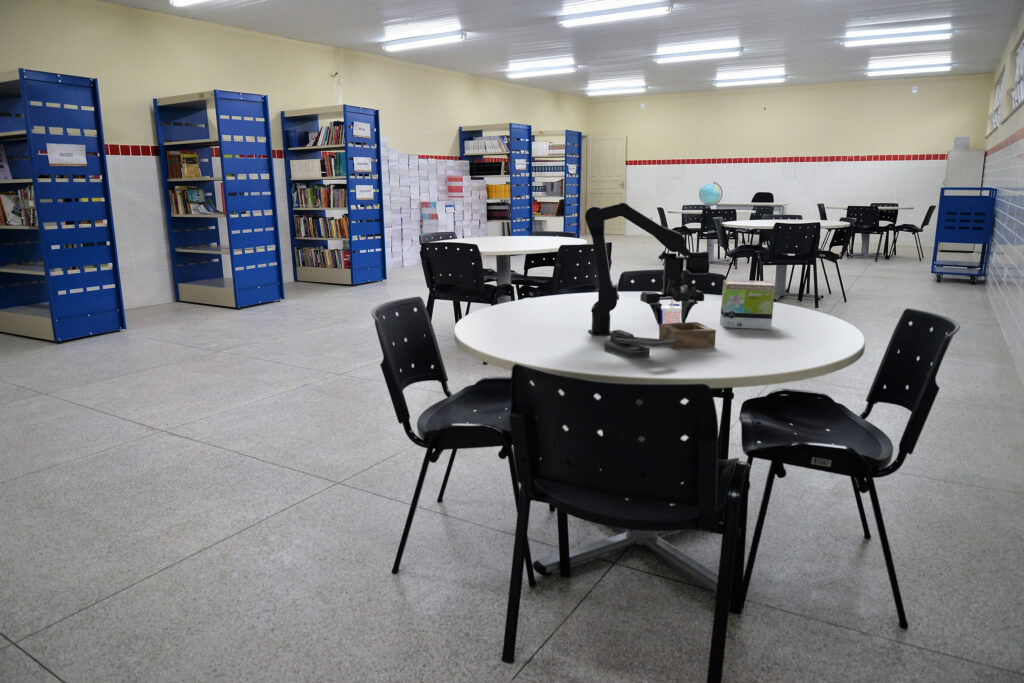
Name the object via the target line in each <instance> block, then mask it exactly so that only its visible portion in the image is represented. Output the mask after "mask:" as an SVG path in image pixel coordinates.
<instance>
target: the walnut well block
mask: <svg viewBox="0 0 1024 683" xmlns="http://www.w3.org/2000/svg"><path fill="white" fill-rule="evenodd" d="M658 327H659V328H658V329H659V330H658V332H659V333H658V339H666V340H676V344H674V345H668V346H669V347H671V348H673V349H674V350H686V349H703V348H704V349H706V348H715V347H716V334H717V330H716V329H714V328H712V327H709V326H707V325H704V324H703V323H700V322H698V321H693V322H691V321H690V322H689V321H687V322H685V323H682V322H680V323H667V324H660V326H658Z"/></svg>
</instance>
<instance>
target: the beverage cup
mask: <svg viewBox="0 0 1024 683" xmlns="http://www.w3.org/2000/svg"><path fill="white" fill-rule="evenodd" d="M670 304H671V306H669V305H662V306H661V308H662V310H663V324H667V323H681V311H682V307H681V306H680V305H679V306H673V304H674V299H671V302H670Z"/></svg>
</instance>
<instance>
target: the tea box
mask: <svg viewBox="0 0 1024 683" xmlns="http://www.w3.org/2000/svg"><path fill="white" fill-rule="evenodd" d="M775 290H776V285H775V284H773V283H772V282H771V281H769V280H768V281H767V280H739V279H738V280H737V279H723V283H722V292H721V306H720V317H719V319H720V320H719V322H720V323H721V325H722V328H724V329H725V328H739V329H751V330H754V329H755V330H756V329H757V330H767V331H768V330H769V331H770V330H771V329H772V323H773V322H772V321H773V314H774V313H773V312H774V304H775V303H774V301H775V292H776V291H775Z"/></svg>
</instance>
